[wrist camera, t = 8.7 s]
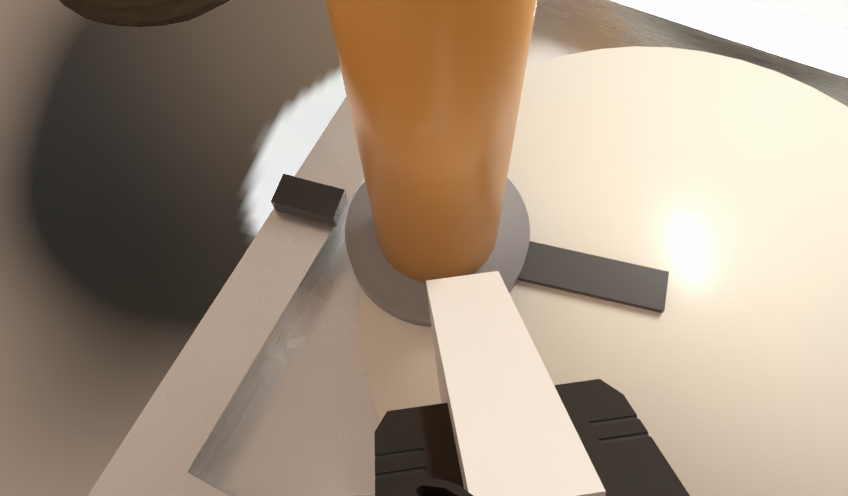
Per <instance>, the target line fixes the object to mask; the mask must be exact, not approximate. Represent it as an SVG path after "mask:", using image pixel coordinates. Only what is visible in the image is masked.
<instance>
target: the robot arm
mask: <svg viewBox="0 0 848 496" xmlns="http://www.w3.org/2000/svg"><path fill="white" fill-rule="evenodd" d="M426 286H427V294H428V302H429V311H430V319H431V327H432V335H433V343H434V351H435V359H436V367H437V375H438V383H439V392H440V398H441V404H434V405H427V406H420V407H413V408H406V409H399V410H391V411H387V412H386V414H385V415H384V417H383V419H382V420H381V422H380V424H379V425H378V427H377V429H376V430H375V432H374V433H375V496H690V495H689V493H688V492H687V490H686V489H685V487H684V486H683V484H682V483H681V481H680V480H679V478H678V477H677V475H676V474H675V472H674V471H673V469H672V468H671V466H670V464H669V463H668V461H667V460H666V458H665V457H664V455H663V454H662V452H661V451H660V449H659V448H658V446H657V445H656V443H655V442H654V440H653V439H652V437H651V436H649V435H648V431H647V429H646V428H645V426H644V425H643V423H642V422H641V420H640V419H638V418H637V414H636V413H635V411H634V410H633V408H632V407H631V405H630V404H629V402H628V400H627V399H626V397H625V396H624V394H622V393H621V392H619V391H618V390H616V389H615V388H613V387H611V386H610V385H608V384H607V383H605V382H604V381H602V380H601V379H595V380H588V381H581V382H573V383H566V384H559V385H554V384H553V382H552V380H551V378H550V376H549V374H548V372H547V370H546V368H545V366H544V364H543V362H542V359H541V357H540V355H539V353H538V351H537V349H536V347H535V345H534V343H533V341H532V339H531V337H530V335H529V333H528V331H527V329H526V327H525V325H524V323H523V320H522V318H521V316H520V314H519V312H518V310H517V308H516V306H515V304H514V302H513V300H512V298H511V296H510V294H509V292H508V290H507V288H506V286H505V284H504V281H503V279H502V277H501V275H500V273H499V271H493V272H486V273H479V274H471V275H464V276H457V277H449V278H442V279H434V280H427V281H426Z"/></svg>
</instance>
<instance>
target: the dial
mask: <svg viewBox="0 0 848 496" xmlns="http://www.w3.org/2000/svg"><path fill="white" fill-rule="evenodd" d="M326 1H327V6H328V10H329V15H330V20H331V24H332V29H333V34H334V38H335V43H336V48H337V52H338V57H339V62H340V66H341V71H342V76H343V80H344V85H345V90H346V94H347V99H348V104H349V108H350V113H351V118H352V122H353V127H354V132H355V136H356V141H357V146H358V150H359V155H360V160H361V164H362V169H363V174H364V178H365V181H364V183H363V184H362V185H361V186H360V188H359V189H358V191H357V192H356V194H355V196H354V197H353V199H352V202H351V204H350V206H349V209H348V213H347V217H346V223H345V243H346V249H347V253H348V256H349V259H350V262H351V265H352V268H353V271H354V274H355V277H356V279H357V281H358V283H359V285H360V286H361V292H360V301H359V302H360V333H361V346H362V352H363V358H364V363H365V369H366V375H367V381H368V385H369V388H370V392H371V395H372V398H373V401H374V404H375V408H376V411H377V414H378V417H379V420H380V422H381V420H382V419H383V417H384V415H385V414H386V412H387V411H391V410H399V409H406V408H413V407H420V406H427V405H434V404H441V398H440V392H439V383H438V375H437V367H436V359H435V351H434V343H433V335H432V327H431V319H430V311H429V302H428V294H427V286H426V281H427V280H434V279H442V278H449V277H457V276H464V275H471V274H479V273H486V272H493V271H499V273H500V275H501V277H502V279H503V281H504V284H505V286H506V288H507V290H508V292H509V294H510V296H511V298H512V300H513V302H514V304H515V306H516V308H517V310H518V312H519V314H520V316H521V318H522V320H523V323H524V325H525V327H526V329H527V331H528V333H529V335H530V337H531V339H532V341H533V343H534V345H535V347H536V349H537V351H538V353H539V355H540V357H541V359H542V362H543V364H544V366H545V368H546V370H547V372H548V374H549V376H550V378H551V380H552V382H553V384H554V385H559V384H566V383H573V382H581V381H588V380H595V379H601V380H602V381H604V382H605V383H607V384H608V385H610V386H611V387H613V388H615V389H616V390H618V391H619V392H621V393H622V394H624V396H625V397H626V399H627V400H628V402H629V404H630V405H631V407H632V408H633V410H634V411H635V413H636V414H637V418H638V419H640V420H641V422H642V423H643V425H644V426H645V428H646V429H647V431H648V435H649V436H651V437H652V439H653V440H654V442H655V443H656V445H657V446H658V448H659V449H660V451H661V452H662V454H663V455H664V457H665V458H666V460H667V461H668V463H669V464H670V466H671V468H672V469H673V471H674V472H675V474H676V475H677V477H678V478H679V480H680V481H681V483H682V484H683V486H684V487H685V489H686V490H687V492H688V493H689V495H690V496H848V107H847V106H846V105H844V104H842V103H840V102H838V101H837V100H835V99H833V98H831V97H829V96H828V95H826V94H824V93H822V92H820V91H819V90H817V89H815V88H813V87H811V86H809V85H806V84H804V83H802V82H800V81H797V80H795V79H793V78H790V77H788V76H786V75H784V74H781V73H779V72H777V71H774V70H771V69H767V68H764V67H761V66H758V65H755V64H752V63H749V62H746V61H743V60H740V59H735V58H731V57H726V56H722V55H717V54H713V53H709V52H703V51H695V50H687V49H679V48H671V47H640V46H632V47H619V48H606V49H597V50H591V51H586V52H580V53H575V54H569V55H565V56H561V57H558V58H555V59H551V60H548V61H545V62H541V63H538V64H535V65H532V66H530V67H527V68H526V64H527V58H528V53H529V47H530V41H531V35H532V29H533V23H534V17H535V11H536V6H537V0H326Z"/></svg>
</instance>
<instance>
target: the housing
mask: <svg viewBox="0 0 848 496" xmlns="http://www.w3.org/2000/svg"><path fill="white" fill-rule="evenodd" d="M632 46H640V47H671V48H679V49H687V50H695V51H703V52H709V53H713V54H717V55H722V56H726V57H731V58H735V59H740V60H743V61H746V62H749V63H752V64H755V65H758V66H761V67H764V68H767V69H771V70H774V71H777V72H779V73H781V74H784V75H786V76H788V77H790V78H793V79H795V80H797V81H800V82H802V83H804V84H806V85H809V86H811V87H813V88H815V89H817V90H819V91H820V92H822V93H824V94H826V95H828V96H829V97H831V98H833V99H835V100H837V101H838V102H840V103H842V104H844V105H846V106H847V107H848V31H845V30H842V29H839V28H835V27H832V26H829V25H826V24H823V23H819V22H816V21H813V20H810V19H806V18H803V17H800V16H797V15H794V14H790V13H787V12H784V11H781V10H777V9H774V8H771V7H768V6H764V5H761V4H758V3H755V2H752V1H748V0H537V6H536V11H535V17H534V23H533V29H532V35H531V41H530V47H529V53H528V58H527V64H526V68H527V67H530V66H532V65H535V64H538V63H541V62H545V61H548V60H551V59H555V58H558V57H561V56H565V55H569V54H575V53H580V52H586V51H591V50H597V49H606V48H619V47H632ZM364 181H365V178H364V174H363V169H362V164H361V160H360V155H359V150H358V146H357V141H356V136H355V132H354V127H353V122H352V118H351V113H350V108H349V104H348V99H347V97H346V98H345V100H344V101H343V103H342V104H341V106H340V108H339V109H338V111H337V112H336V114H335V115H334V117H333V118H332V120H331V121H330V123H329V125H328V126H327V128H326V129H325V131H324V132H323V134H322V135H321V137H320V138H319V140H318V141H317V143H316V145H315V146H314V148H313V149H312V151H311V152H310V154H309V155H308V157H307V158H306V160H305V162H304V163H303V165H302V166H301V168H300V169H299V171H298V172H297V174H296V175H295V177H294V176H290V175H286V174H283V176H282V178H281V181H280V183H279V185H278V187H277V190H276V192H275V194H274V196H273V198H272V201H271V202H272V204H273V206H274V209H273V211H272V212H271V214H270V215H269V217H268V219H267V220H266V222H265V223H264V225H263V226H262V228H261V229H260V231H259V232H258V234H257V236H256V237H255V239H254V240H253V242H252V243H251V245H250V246H249V248H248V249H247V251H246V253H245V254H244V256H243V257H242V259H241V260H240V262H239V264H238V265H237V266H236V268H235V270H234V271H233V273H232V274H231V276H230V277H229V279H228V280H227V282H226V283H225V285H224V287H223V288H222V290H221V291H220V293H219V294H218V296H217V297H216V299H215V300H214V302H213V303H212V305H211V306H210V308H209V310H208V311H207V313H206V314H205V316H204V317H203V319H202V320H201V322H200V323H199V325H198V327H197V328H196V330H195V331H194V333H193V334H192V336H191V337H190V339H189V340H188V342H187V344H186V345H185V347H184V348H183V350H182V351H181V353H180V354H179V356H178V357H177V359H176V361H175V362H174V364H173V365H172V367H171V368H170V370H169V371H168V373H167V374H166V376H165V377H164V379H163V380H162V382H161V384H160V385H159V387H158V388H157V390H156V391H155V393H154V394H153V396H152V398H151V399H150V401H149V402H148V404H147V405H146V407H145V408H144V410H143V411H142V413H141V414H140V416H139V417H138V419H137V421H136V422H135V424H134V425H133V427H132V429H131V430H130V431H129V433H128V435H127V436H126V438H125V439H124V441H123V442H122V444H121V445H120V447H119V448H118V450H117V451H116V453H115V454H114V456H113V458H112V459H111V461H110V462H109V464H108V465H107V467H106V468H105V470H104V471H103V473H102V475H101V476H100V478H99V479H98V481H97V482H96V484H95V485H94V487H93V489H92V490H91V491H90V493H89V495H88V496H375V433H374V432H375V430H376V429H377V427H378V425H379V424H380V420H379V417H378V414H377V411H376V408H375V404H374V401H373V398H372V395H371V392H370V388H369V385H368V381H367V375H366V369H365V363H364V358H363V352H362V346H361V333H360V302H359V301H360V292H361V286H360V285H359V283H358V281H357V279H356V277H355V274H354V271H353V268H352V265H351V262H350V259H349V256H348V253H347V249H346V243H345V223H346V217H347V213H348V209H349V206H350V204H351V202H352V199H353V197H354V196H355V194H356V192H357V191H358V189H359V188H360V186H361V185H362V184H363V183H364Z"/></svg>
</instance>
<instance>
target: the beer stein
mask: <svg viewBox="0 0 848 496" xmlns="http://www.w3.org/2000/svg"><path fill="white" fill-rule="evenodd" d="M60 1H61V2H62V3H63V4H64V5H65V6H67V7H68V8H70V9H71V10H73V11H75V12H76V13H78V14H79V15H81V16H83V17H84V18H87V19H90V20H94V21H98V22H102V23H106V24H111V25H118V26H140V27H142V26H161V25H167V24H173V23H178V22H183V21H187V20H190V19H193V18H195V17H197V16H200V15H202V14H204V13H206V12H208V11H210V10H212V9H214V8H215V7H218V6H219V5H222V4H224V3H226V2H227V1H229V0H60Z"/></svg>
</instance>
